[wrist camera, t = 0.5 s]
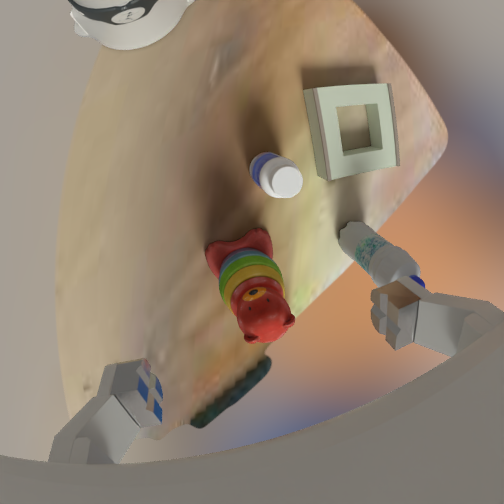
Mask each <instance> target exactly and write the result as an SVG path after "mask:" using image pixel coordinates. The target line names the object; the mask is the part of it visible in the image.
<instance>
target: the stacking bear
mask: <svg viewBox="0 0 504 504" xmlns="http://www.w3.org/2000/svg"><path fill="white" fill-rule="evenodd" d="M205 256H206V260H207V262H208V265H209V267H210V269H211V270H212V272H213V273H214V275H215V276H216V277H217V278H218V279H219V290H220V294H221V296H222V299H223V301H224V302H225V304H226V305H227V306H228V308H229V309H230V311H231V312H232V313H233V314H234V315H235V316H236V317H237V321H238V324H239V327H240V329H241V330H242V332H243V333H244V339H245V341H246V342H247V343H250V344H253V343H256V342H262V343H267V342H273V341H276V340H277V339H279V338H281V337H282V336H283V335H284V334H285V333H286V331H287V330H288V328H289V327H291V326H293V325H294V323H295V316H294V315H293V314H291V311H290V308H289V306H288V304H287V302H286V300H285V299H284V297H285V288H284V283H283V278H282V274H281V272H280V270H279V268H278V266H277V265H276V263H275V262H274V261H273V260H272V258H273V248H272V242H271V239H270V236H269V234H268V232H267V231H265V230H262V229H261V228H257V229H252V230H250V231H249V232H248V233H247V234H246V235H245V236H244V237H242V238H241V239H239V240H237V241H233V242H224V241H216V242H214V243H211V244H209V246H208V248H207V249H206V251H205Z"/></svg>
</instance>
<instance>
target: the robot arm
mask: <svg viewBox="0 0 504 504" xmlns="http://www.w3.org/2000/svg"><path fill="white" fill-rule="evenodd" d="M68 1H69V3H70V4H71V6H72V11H71V12H70V14H71V17H72V18H73V19H74V20H75V25H74V31H75V33H76V34H77V35H79V36H82V37H91V38H94V39H95V40H97V41H98V42H99V43H101V44H102V45H104V46H106V47H109V48H112V49H118V50H131V49H137V48H141V47H144V46H147V45H150V44H152V43H154V42H156V41H158V40H159V39H161V38H162V37H164V36H165V35H166V34H168V33H169V32H170V31H171V30H172V29H173V28H174V27H175V26H176V24H177V23H178V22H179V20H180V19H181V17H182V15H183V13H184V11H185V9H186V8H187V7H188V6H189V5H190V4H191V3H193V2H194V1H195V0H68ZM371 301H372V302H373V303H374V305H373V307H372V309H371V319H372V323H373V325H374V327H375V329H376V330H377V331H378V332H379V333H380V334H384V335H386V341H387V342H388V343H389V344H390V345H391V346H392V348H393V349H394V350H397V349H400V348H401V347H404V346H406V345H408V344H410V343H412V342H414V343H416V344H419V345H421V346H424V347H426V348H429V349H432V350H435V351H437V352H440V353H442V354H445V355H448V356H450V357H451V358H449V359H448V360H446V361H445V362H443V363H441V364H440V365H438V366H437V367H435V368H433V369H432V370H430V371H428V372H427V373H425V374H423V375H421V376H420V377H418V378H416V379H414V380H413V381H411V382H409V383H407V384H405V385H403V386H402V387H400V388H398V389H396V390H394V391H392V392H390V393H388V394H386V395H384V396H382V397H380V398H378V399H376V400H374V401H371V402H369V403H367V404H365V405H363V406H361V407H358V408H356V409H354V410H352V411H349V412H347V413H344V414H342V415H339V416H337V417H334V418H332V419H329V420H327V421H324V422H321V423H319V424H316V425H313V426H310V427H307V428H305V429H302V430H299V431H296V432H293V433H289V434H287V435H283V436H280V437H277V438H273V439H270V440H266V441H263V442H259V443H255V444H251V445H247V446H243V447H239V448H235V449H230V450H226V451H221V452H216V453H210V454H205V455H199V456H194V457H187V458H180V459H173V460H165V461H154V462H143V463H128V464H119V463H120V461H121V460H122V458H123V457H124V455H125V453H126V452H127V450H128V448H129V447H130V445H131V444H132V442H133V440H134V439H135V437H136V435H137V434H138V432H139V431H140V428H142V427H148V426H154V425H160V424H162V408H161V407H160V405H159V404H160V403H161V402H162V400H163V392H162V387H161V384H160V382H159V379H158V378H157V376H156V375H155V374H153V373H151V372H150V370H151V366H150V364H149V362H148V361H147V359H145V358H141V359H136V360H131V361H125V362H119V363H114V364H109V365H107V366H105V368H104V372H103V375H102V379H101V382H100V386H99V389H98V393H97V397H93V398H92V399H91V400H90V401H89V402H88V403H87V404H86V405H85V406H84V407H83V408H82V409H81V410H80V411H79V412H78V413H77V414H76V415H75V416H74V417H73V418H72V419H71V420H70V421H69V422H68V423H67V424H66V425H65V426H64V427H63V429H62V430H61V431H60V432H59V433H58V434H57V435H56V436H55V437H54V441H53V444H52V448H51V452H50V455H49V460H48V462H43V461H34V460H27V459H20V458H14V457H8V456H2V455H0V504H504V312H503V311H501V310H500V309H499V308H497V307H496V306H494V305H493V304H492V303H490V302H488V301H483V300H477V299H471V298H465V297H459V296H453V295H447V294H441V293H434V294H432V293H431V292H429V291H428V290H427V289H425V288H424V287H422V286H421V285H420V284H418V283H417V282H415V281H414V280H412V279H411V278H410V277H408V276H404V277H401V278H399V279H397V280H395V281H393V282H391V283H389V284H386V285H384V286H381V287H379V288H376V289H373V290H372V292H371Z"/></svg>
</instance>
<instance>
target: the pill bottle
mask: <svg viewBox="0 0 504 504" xmlns="http://www.w3.org/2000/svg"><path fill="white" fill-rule="evenodd" d="M249 171H250V176H251V178H252V180H253V181H254V182H255V183H256V184H257V185H258V186H259V187H260V188H261V189H263V190H264V191H265V192H266V193H267V194H268V195H270V196H272V197H276V198H290V197H293V196H295V195H296V194H297V193H298V192H299V191H300V190H301V188H302V184H303V178H302V175H301V173H300V172H299V169H298V167H297V166H296V164H295V163H294V162H293V161H291V160H289V159H287V158H284V157H282V156H279V155H277V154H274V153H271V152H263V153H260V154H258V155H257V156H256V157H255V158H254V159H253V160H252V162H251V164H250V168H249Z"/></svg>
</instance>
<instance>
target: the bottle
mask: <svg viewBox="0 0 504 504" xmlns="http://www.w3.org/2000/svg"><path fill="white" fill-rule="evenodd" d="M338 242H339V245H340V247H341V248H342V250H343V251H344V252H345V253H346V254H347V255H348V256H349V257H350V258H352V259H353V260H354V261H356V262H357V263H358V264H359V265H360V266H361V267H362V268H363V269H364V270H365V271H366V272H367V273H368V274H369V275H370V276H371V277H372V280H373V282H374V283H375V284H376V285H377V286H378V287H381V286H384V285H386V284H389V283H391V282H393V281H395V280H397V279H399V278H401V277H404V276H408V277H410V278H411V279H412V280H414V281H415V282H417V283H418V284H420V285H421V286H422V287H424V288H425V284H424V282H423V280H422V279H420V267H419V265H418V264H417V263H416V262H415V260H413V258H412V257H411V256H410V255H409V254H408V253H407V252H406V251H405V250H402V249H401V248H400V247H397V246H394V245H392V244H391V243H390V242H388V241H387V240H385V239H384V238H383V237H381V236H380V235H378V234H377V233H376V232H375V231H374V230H373V229H372V228H370V227H369V226H368V225H366V224H365V223H363V222H361V221H357V222H352V221H351V222H348V223H347V226H346V227H345V228H344V229H341V230H340V238H339V240H338Z"/></svg>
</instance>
